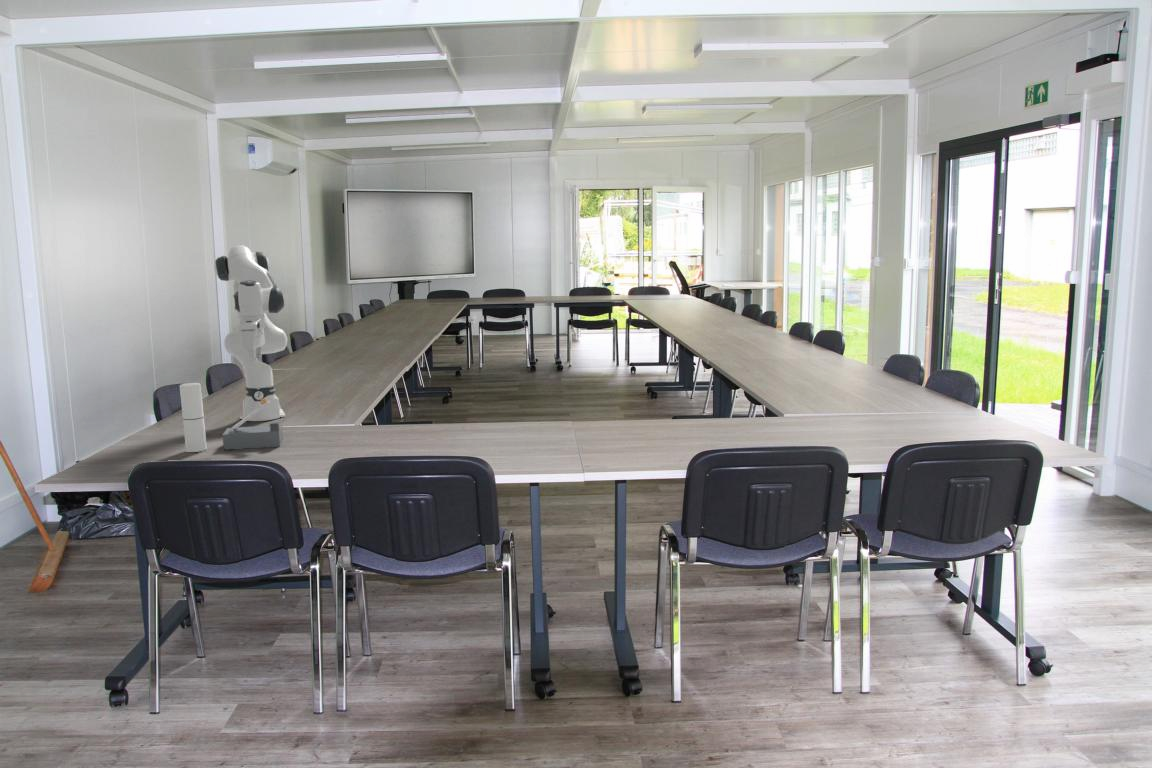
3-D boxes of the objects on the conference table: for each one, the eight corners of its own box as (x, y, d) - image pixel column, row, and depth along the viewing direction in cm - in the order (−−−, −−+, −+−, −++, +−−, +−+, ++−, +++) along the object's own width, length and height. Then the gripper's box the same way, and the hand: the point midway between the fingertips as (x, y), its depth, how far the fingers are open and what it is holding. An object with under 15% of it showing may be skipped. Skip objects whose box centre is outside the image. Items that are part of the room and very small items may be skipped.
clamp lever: (233, 429, 329) (229, 424, 328) (270, 402, 330) (265, 396, 329) (232, 431, 325) (227, 426, 324) (268, 404, 326) (264, 398, 326)
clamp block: (228, 443, 333) (226, 420, 331) (283, 439, 337) (281, 417, 335) (223, 450, 322) (221, 426, 321) (280, 446, 326) (278, 423, 325)
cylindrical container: (188, 454, 318) (181, 387, 313) (184, 450, 323) (177, 384, 319) (208, 450, 322) (202, 384, 317) (204, 447, 327) (198, 382, 323)
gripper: (250, 321, 340) (253, 356, 343) (237, 326, 320) (240, 363, 323) (267, 320, 341) (270, 355, 343) (255, 325, 321) (258, 362, 323)
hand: (255, 359), depth 333 cm, fingers open, 8 cm apart
